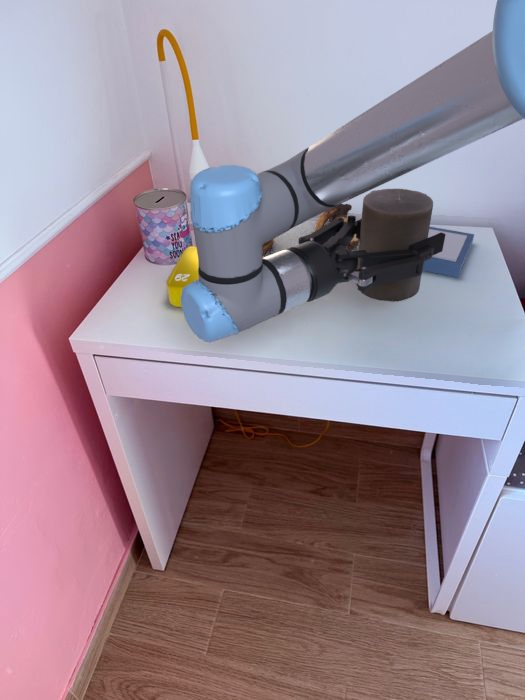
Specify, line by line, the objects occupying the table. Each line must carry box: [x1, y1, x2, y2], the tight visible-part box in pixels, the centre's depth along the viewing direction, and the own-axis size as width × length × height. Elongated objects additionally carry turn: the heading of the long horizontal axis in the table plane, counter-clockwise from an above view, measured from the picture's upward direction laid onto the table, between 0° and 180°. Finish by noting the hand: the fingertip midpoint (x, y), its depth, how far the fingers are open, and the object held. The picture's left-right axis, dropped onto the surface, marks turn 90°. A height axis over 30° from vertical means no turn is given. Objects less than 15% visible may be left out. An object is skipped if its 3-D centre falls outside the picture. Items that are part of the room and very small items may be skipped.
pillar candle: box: [355, 188, 434, 303], centre depth 76 cm, size 10×10×15 cm
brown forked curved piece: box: [314, 203, 360, 250], centre depth 108 cm, size 9×5×18 cm
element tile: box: [165, 245, 199, 308], centre depth 93 cm, size 15×15×5 cm
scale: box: [422, 226, 475, 279], centre depth 102 cm, size 15×14×3 cm
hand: (414, 229), depth 78 cm, fingers closed on pillar candle, 10 cm apart
